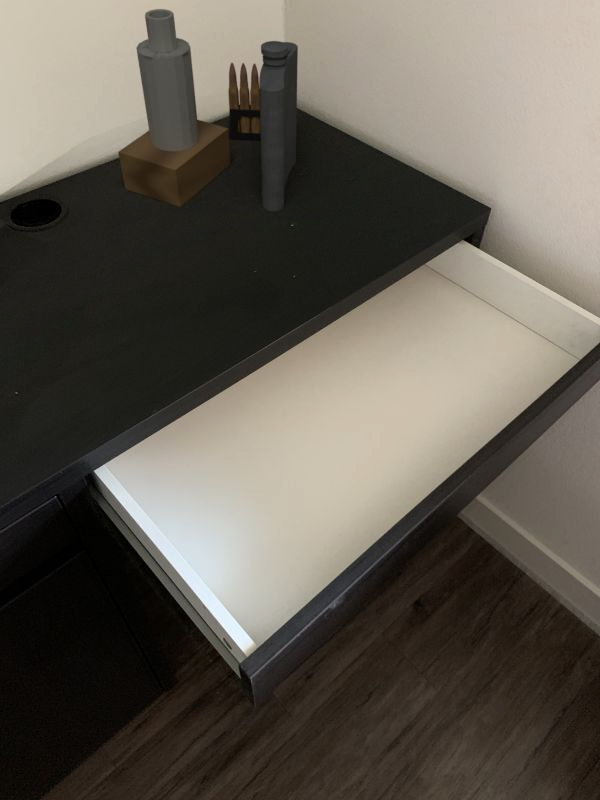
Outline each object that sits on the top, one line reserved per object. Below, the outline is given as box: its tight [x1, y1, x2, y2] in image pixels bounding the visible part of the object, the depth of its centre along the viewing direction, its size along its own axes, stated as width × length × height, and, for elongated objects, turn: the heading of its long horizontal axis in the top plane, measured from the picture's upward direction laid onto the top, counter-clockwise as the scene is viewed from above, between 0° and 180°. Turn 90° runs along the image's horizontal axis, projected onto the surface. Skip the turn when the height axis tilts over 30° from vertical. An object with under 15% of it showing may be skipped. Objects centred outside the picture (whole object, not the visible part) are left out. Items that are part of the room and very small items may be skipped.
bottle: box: [135, 8, 199, 151], centre depth 92 cm, size 7×7×17 cm
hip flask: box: [259, 40, 299, 213], centre depth 95 cm, size 16×4×20 cm, turn 172°
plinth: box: [117, 119, 231, 208], centre depth 100 cm, size 10×14×6 cm
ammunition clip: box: [228, 62, 261, 142], centre depth 107 cm, size 11×2×12 cm, turn 87°
